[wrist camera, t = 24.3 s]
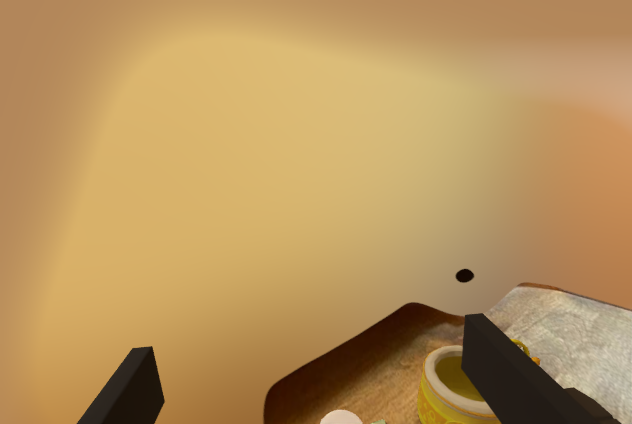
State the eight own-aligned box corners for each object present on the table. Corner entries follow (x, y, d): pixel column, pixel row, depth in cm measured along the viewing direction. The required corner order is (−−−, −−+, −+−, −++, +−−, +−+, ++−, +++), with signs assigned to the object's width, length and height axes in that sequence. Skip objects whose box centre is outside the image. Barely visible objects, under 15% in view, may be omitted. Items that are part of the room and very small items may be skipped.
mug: (406, 450, 33) (408, 359, 30) (426, 379, 42) (429, 304, 39) (552, 518, 27) (572, 410, 24) (538, 417, 36) (551, 331, 33)
